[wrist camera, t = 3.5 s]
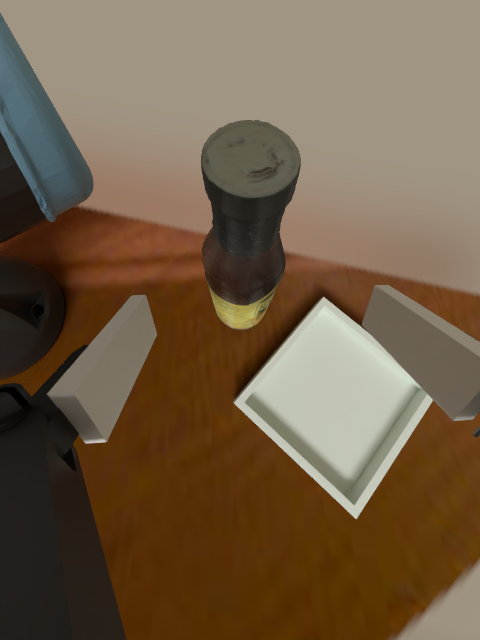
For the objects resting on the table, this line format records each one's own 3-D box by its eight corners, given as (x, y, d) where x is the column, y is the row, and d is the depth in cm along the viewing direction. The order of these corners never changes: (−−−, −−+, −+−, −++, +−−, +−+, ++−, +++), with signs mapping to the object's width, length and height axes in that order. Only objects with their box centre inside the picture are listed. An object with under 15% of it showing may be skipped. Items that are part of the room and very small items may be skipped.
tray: (233, 399, 25) (233, 403, 23) (316, 302, 28) (323, 296, 25) (343, 502, 23) (356, 519, 21) (420, 387, 26) (439, 390, 23)
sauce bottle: (262, 334, 27) (331, 250, 7) (213, 328, 27) (154, 230, 7) (266, 285, 28) (334, 108, 9) (219, 280, 28) (185, 92, 9)
